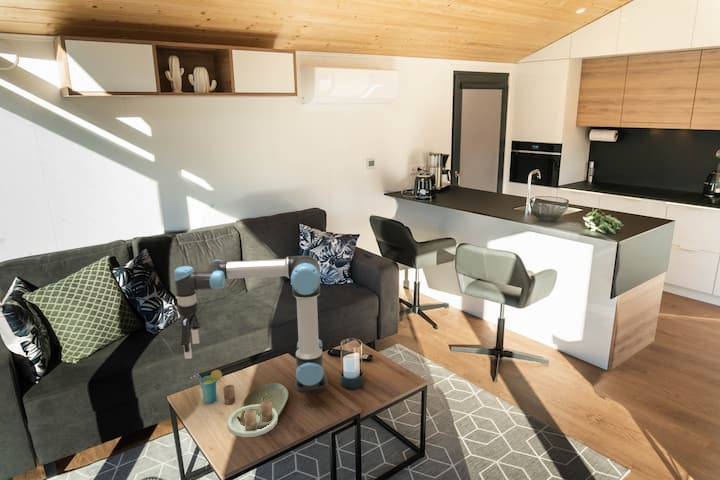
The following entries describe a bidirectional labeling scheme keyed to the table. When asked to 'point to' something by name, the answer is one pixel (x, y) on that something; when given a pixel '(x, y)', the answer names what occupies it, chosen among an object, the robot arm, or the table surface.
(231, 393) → the brown stubby piece
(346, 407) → the table surface
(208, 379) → the cup
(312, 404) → the table surface
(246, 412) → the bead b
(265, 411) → the brown rounded cylinder
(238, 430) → the tray
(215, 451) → the table surface
